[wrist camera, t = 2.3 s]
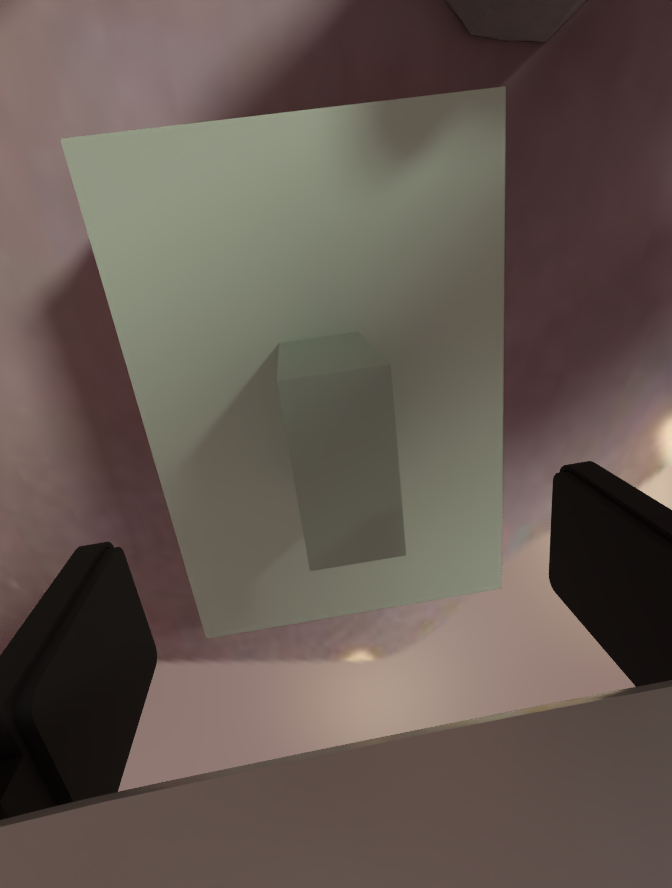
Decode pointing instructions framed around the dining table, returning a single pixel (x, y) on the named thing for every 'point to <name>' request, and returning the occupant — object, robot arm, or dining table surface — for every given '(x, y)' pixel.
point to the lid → (314, 346)
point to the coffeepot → (514, 17)
